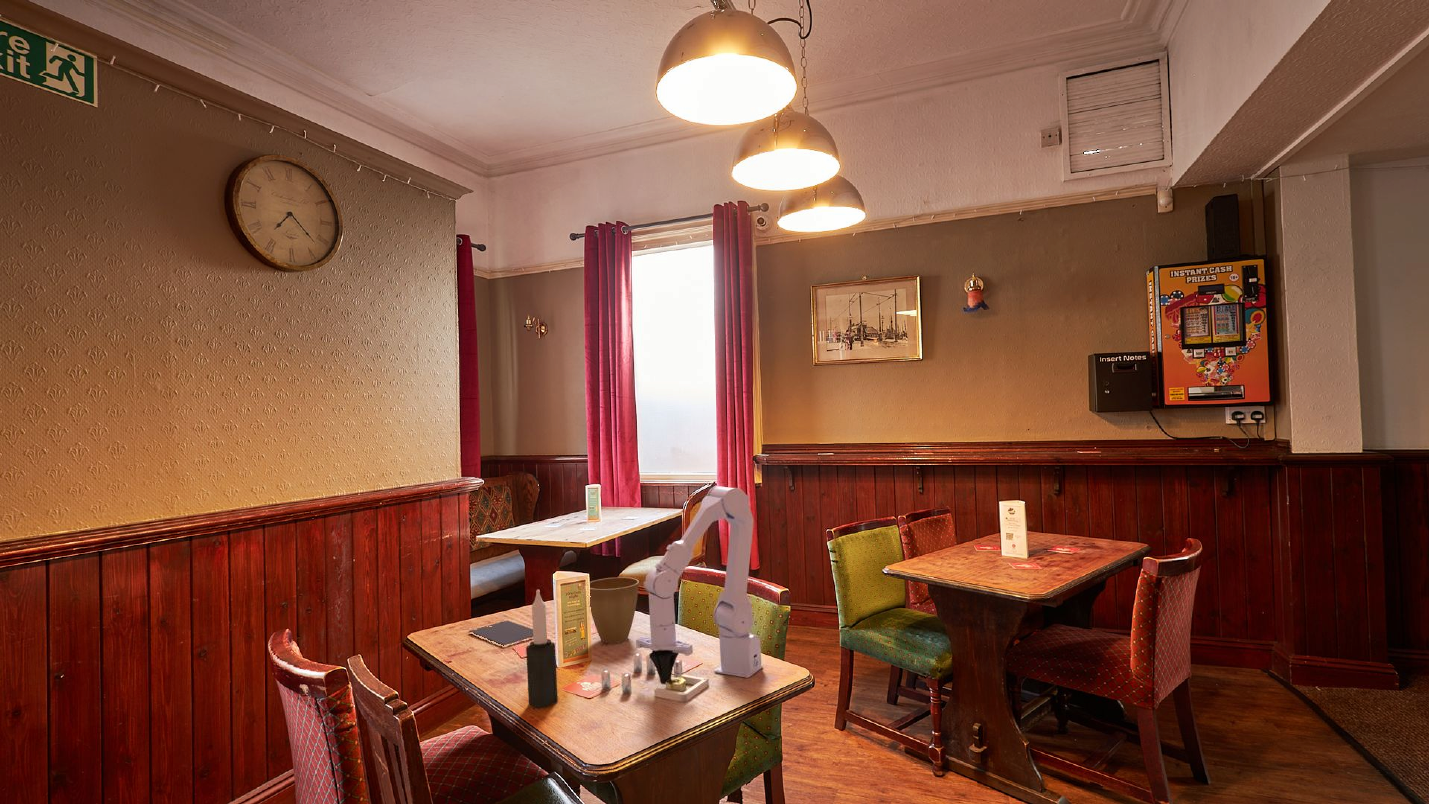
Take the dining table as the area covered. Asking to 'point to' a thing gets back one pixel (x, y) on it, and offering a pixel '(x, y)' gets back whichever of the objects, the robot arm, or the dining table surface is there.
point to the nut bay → (683, 697)
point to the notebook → (504, 632)
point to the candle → (541, 660)
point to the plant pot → (613, 607)
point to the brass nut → (676, 684)
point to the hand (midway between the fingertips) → (665, 682)
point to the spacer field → (637, 668)
